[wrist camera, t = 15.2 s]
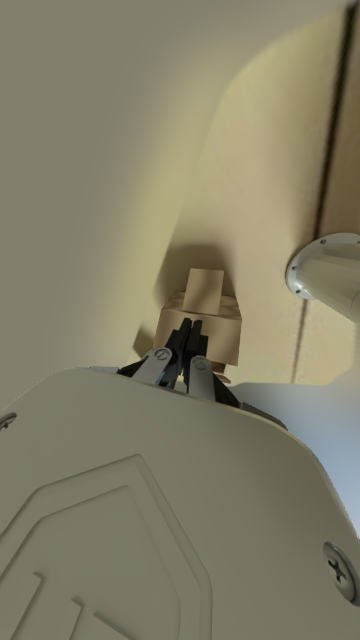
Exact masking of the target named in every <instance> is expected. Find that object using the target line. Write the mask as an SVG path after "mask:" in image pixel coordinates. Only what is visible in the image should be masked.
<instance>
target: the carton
mask: <svg viewBox="0 0 360 640" xmlns="http://www.w3.org/2000/svg"><path fill="white" fill-rule="evenodd" d="M185 293H186V292H185V291H176V292H175V293H174V294H173V296H172V297H171V298H170V299H169V300H168V302H167V303H166V304H165V305H164V307H163V308H162V309H161V310H166V311H173V312H180V313H187V314H194V315H202V316H209V317H216V318H223V319H230V320H237V321H242V317H241V314H240V310H239V306H238V303H237V299H236V297H231V296H222V295H221V298H220V305H219V313H218V315H210V314H203V313H196V312H189V311H182V308H183V303H184V298H185ZM241 324H242V322H241ZM210 362H211V366H212V371H213V373H218V374H222V375H225V374H226V371H227V368H228V365H229V364H224V363H219V362H214V361H210Z"/></svg>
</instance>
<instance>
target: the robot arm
mask: <svg viewBox="0 0 360 640" xmlns="http://www.w3.org/2000/svg"><path fill="white" fill-rule="evenodd" d="M321 241H322V242H321ZM320 242H321V243H320ZM292 267H293V268H292ZM286 284H287V286H288V288H289V290H290V291H291V292H292V293H293V294H295V295H296V296H298V297H300V298H304V299H311V300H314V299H318V300H320V301H321V302H323V303H324V304H326V305H327V306H329V307H331V308H332V309H334V310H335V311H337V312H338V313H340V314H342V315H343V316H345V317H346V318H348V319H349V320H351V321H353V322H354V323H356V324H357V325H359V326H360V235H357V234H355V233H347V232H346V233H334V234H329V235H326V236H323V237H320V238H318V239H316V240H314V241H312V242H311V243H309V244H308V245H306V246H305V247H304V248H302V249H301V250H300V251H299V252H298V253H297V254H296V255H295V256H294V258H293V259H292V261H291V262H290V264H289V266H288V268H287V272H286ZM192 321H193V320H191V318H186V317H184V320H183V322H182V324H181V326H180V328H179V330H175V329H173V331H172V333H171V335H170V337H169V339H168V341H167V343H166V345H165V346H164V347H161V348H157V349H155V350H154V351H153V353H152V354H151V355H150V356H149V357H148V358H147V359H144V360H141V361H139V362H136V363H133V364H131V365H128V366H125V367H123V368H122V369H119V368H118V367H95V366H93V367H89V368H85V367H84V368H83V367H76V368H67V369H62V370H58V371H56V372H53V373H52V374H50V375H48V376H46V377H45V378H43V379H42V380H41V381H39V382H38V383H36V384H35V385H33V386H32V387H31V388H30V389H28V390H27V391H25V392H24V393H23V394H22V395H20V396H19V397H18V398H16V399H15V400H14V401H13V402H11V403H10V404H9V405H8V406H6V407H5V408H4V409H3V410H1V411H0V640H360V539H359V537H358V535H357V532H356V530H355V528H354V526H353V524H352V522H351V520H350V518H349V515H348V513H347V511H346V509H345V507H344V505H343V503H342V501H341V499H340V497H339V495H338V493H337V491H336V489H335V487H334V486H333V483H332V482H331V480H330V478H329V476H328V474H327V472H326V471H325V469H324V467H323V466H322V464H321V463H320V462H319V460H318V458H317V457H316V456H315V454H314V453H313V452H312V451H311V450H310V449H309V448H308V447H307V446H306V445H305V444H304V443H303V442H302V441H301V440H300V439H298V438H297V437H296V436H294V435H293V434H292V433H290V432H289V431H288V429H287V428H286V426H285V425H284V424H283V423H282V422H281V421H280V420H279V419H277V418H275V417H273V416H271V415H269V414H267V413H265V412H263V411H261V410H259V409H257V408H255V407H253V406H251V405H249V404H247V403H245V402H242V403H241V402H239V401H238V400H237V399H236V398H235V396H234V395H233V394H232V393H231V392H230V391H229V389H228V388H227V387H226V386H225V385H224V384H223V383H222V381H221V380H220V379H219V378H218V377H217V376H216V375H215V374H214V373H213V371H212V366H211V362H210V361H209V359H207V358H206V356H207V347H208V339H209V336H206V335H201V328H202V323H203V320H198V319H197V321H194V323H193V326H192ZM182 369H183V376H184V380H183V381H184V383H185V384H186V386H187V393H183V392H179V391H176V390H172V389H169V386H170V384H171V381H172V380H174V379H177V378H178V375H180V376H181V373H182Z"/></svg>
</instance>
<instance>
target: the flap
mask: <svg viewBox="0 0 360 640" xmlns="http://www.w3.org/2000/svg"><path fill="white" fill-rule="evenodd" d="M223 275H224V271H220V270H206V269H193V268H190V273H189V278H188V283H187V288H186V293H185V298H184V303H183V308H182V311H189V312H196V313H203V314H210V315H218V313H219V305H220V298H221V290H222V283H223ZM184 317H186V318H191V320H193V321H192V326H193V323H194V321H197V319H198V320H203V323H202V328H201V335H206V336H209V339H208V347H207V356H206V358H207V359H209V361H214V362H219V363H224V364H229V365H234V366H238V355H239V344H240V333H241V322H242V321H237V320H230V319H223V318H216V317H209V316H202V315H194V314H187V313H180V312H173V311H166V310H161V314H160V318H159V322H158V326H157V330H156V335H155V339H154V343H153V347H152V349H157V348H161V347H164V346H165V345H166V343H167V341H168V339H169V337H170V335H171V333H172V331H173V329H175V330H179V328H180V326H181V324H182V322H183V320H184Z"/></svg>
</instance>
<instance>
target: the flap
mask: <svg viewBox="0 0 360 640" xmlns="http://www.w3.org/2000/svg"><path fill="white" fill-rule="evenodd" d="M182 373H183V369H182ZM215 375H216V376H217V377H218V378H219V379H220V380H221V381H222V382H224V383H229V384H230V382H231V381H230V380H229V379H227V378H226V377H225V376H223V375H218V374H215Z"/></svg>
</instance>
